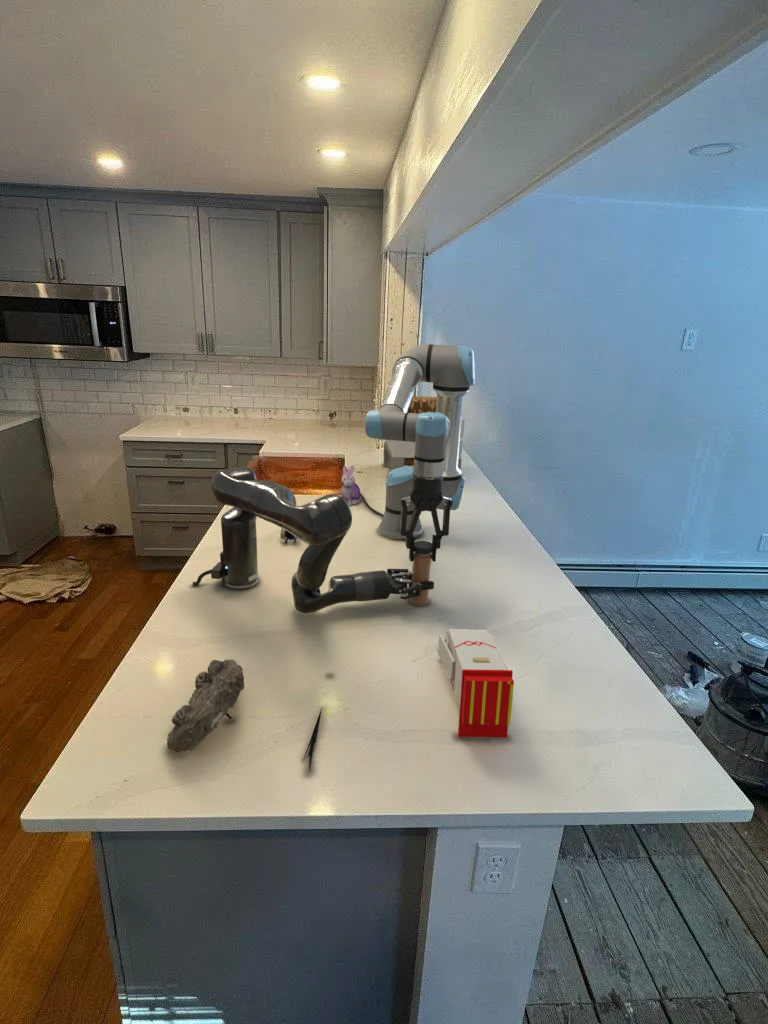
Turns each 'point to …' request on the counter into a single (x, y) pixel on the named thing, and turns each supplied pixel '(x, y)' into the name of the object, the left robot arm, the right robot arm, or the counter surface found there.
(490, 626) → the counter surface
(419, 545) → the lid
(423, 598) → the jar
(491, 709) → the toy
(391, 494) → the right robot arm
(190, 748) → the fossil
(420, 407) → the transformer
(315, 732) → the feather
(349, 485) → the figurine
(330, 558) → the left robot arm
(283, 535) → the figurine character
